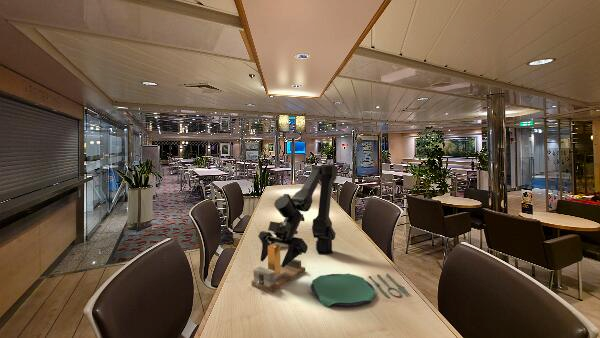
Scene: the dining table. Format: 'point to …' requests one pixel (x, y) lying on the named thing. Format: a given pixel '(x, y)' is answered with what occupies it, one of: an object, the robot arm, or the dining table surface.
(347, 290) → the cutlery set
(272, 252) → the orange wooden beam
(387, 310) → the dining table surface
